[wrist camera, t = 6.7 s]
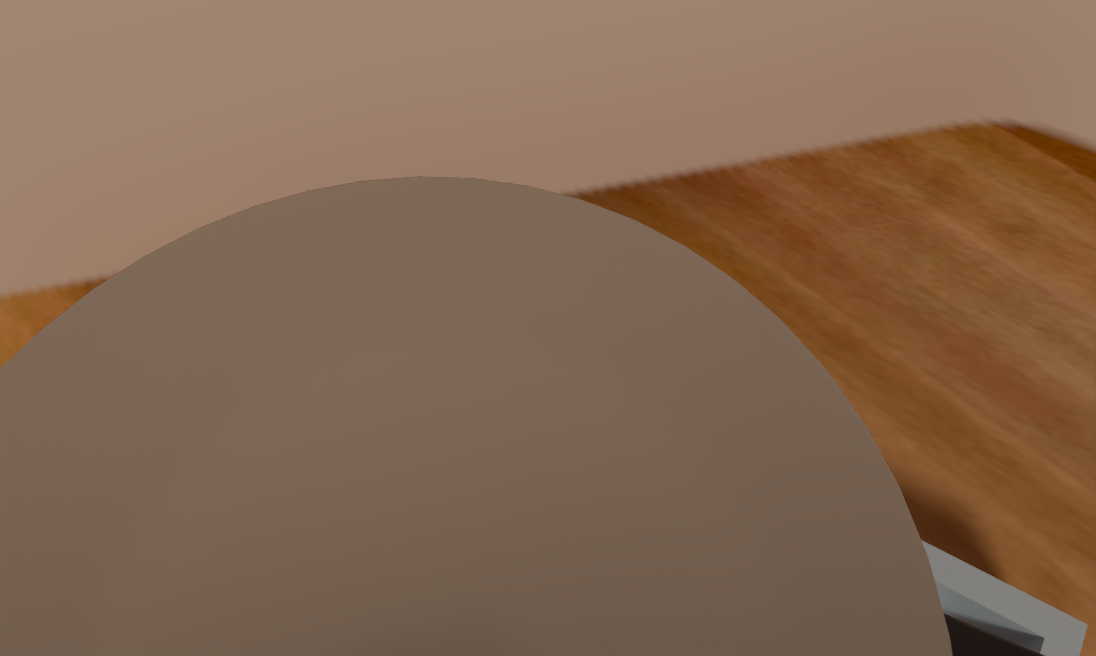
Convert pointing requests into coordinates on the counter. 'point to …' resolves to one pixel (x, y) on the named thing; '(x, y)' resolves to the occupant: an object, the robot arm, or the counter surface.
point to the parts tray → (1002, 608)
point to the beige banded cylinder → (442, 449)
